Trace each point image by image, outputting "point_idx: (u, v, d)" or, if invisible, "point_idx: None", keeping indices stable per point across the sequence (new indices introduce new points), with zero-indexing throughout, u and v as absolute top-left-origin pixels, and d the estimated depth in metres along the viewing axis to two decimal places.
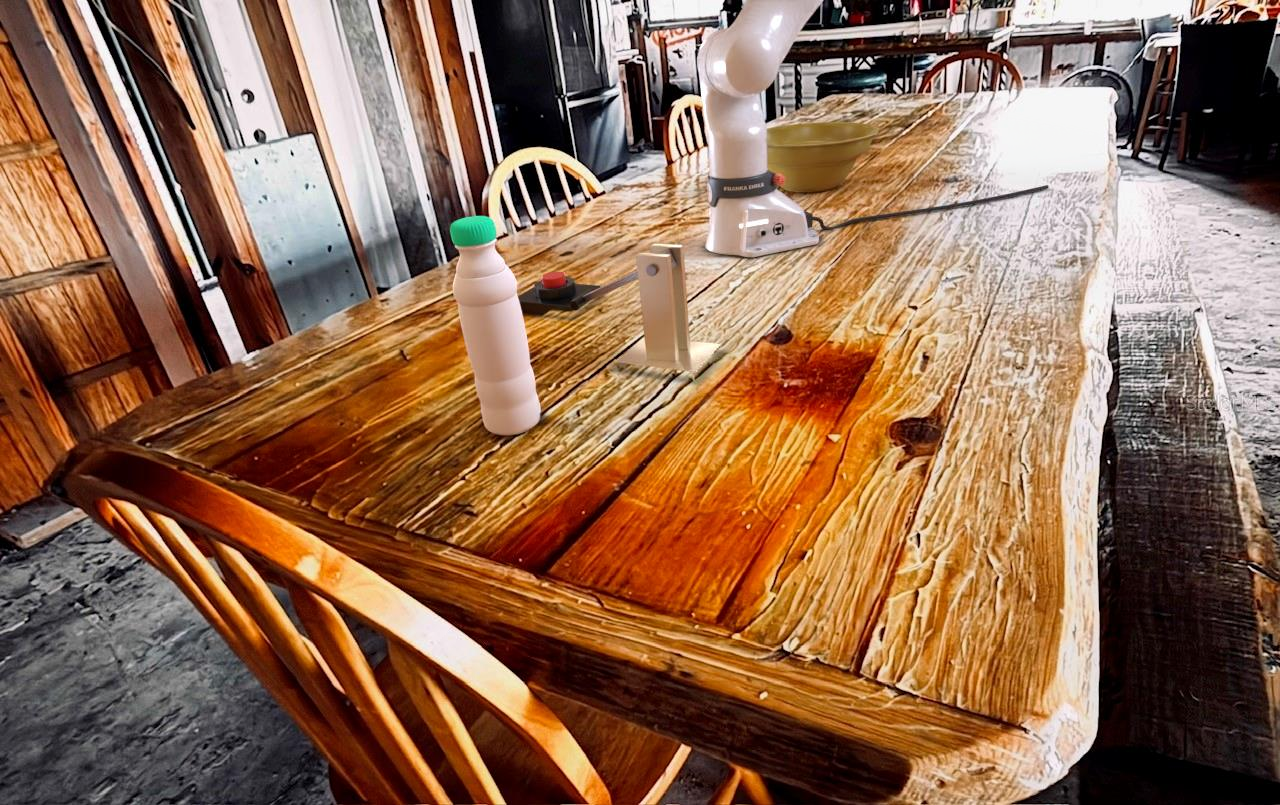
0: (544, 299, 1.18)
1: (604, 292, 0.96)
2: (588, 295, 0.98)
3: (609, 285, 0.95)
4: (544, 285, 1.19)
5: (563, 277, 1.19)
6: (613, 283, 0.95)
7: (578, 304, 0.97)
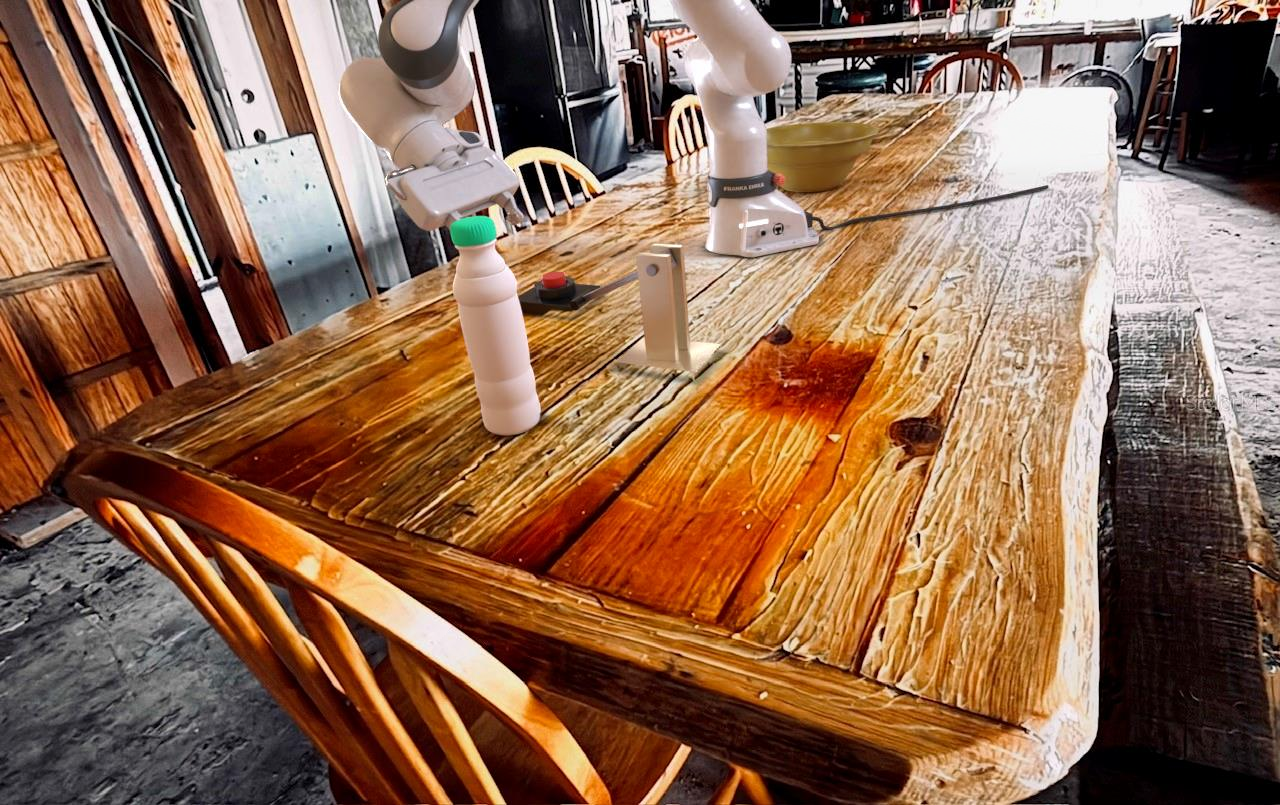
0: (544, 299, 1.18)
1: (604, 292, 0.96)
2: (588, 295, 0.98)
3: (609, 285, 0.95)
4: (544, 285, 1.19)
5: (563, 277, 1.19)
6: (613, 283, 0.95)
7: (578, 304, 0.97)
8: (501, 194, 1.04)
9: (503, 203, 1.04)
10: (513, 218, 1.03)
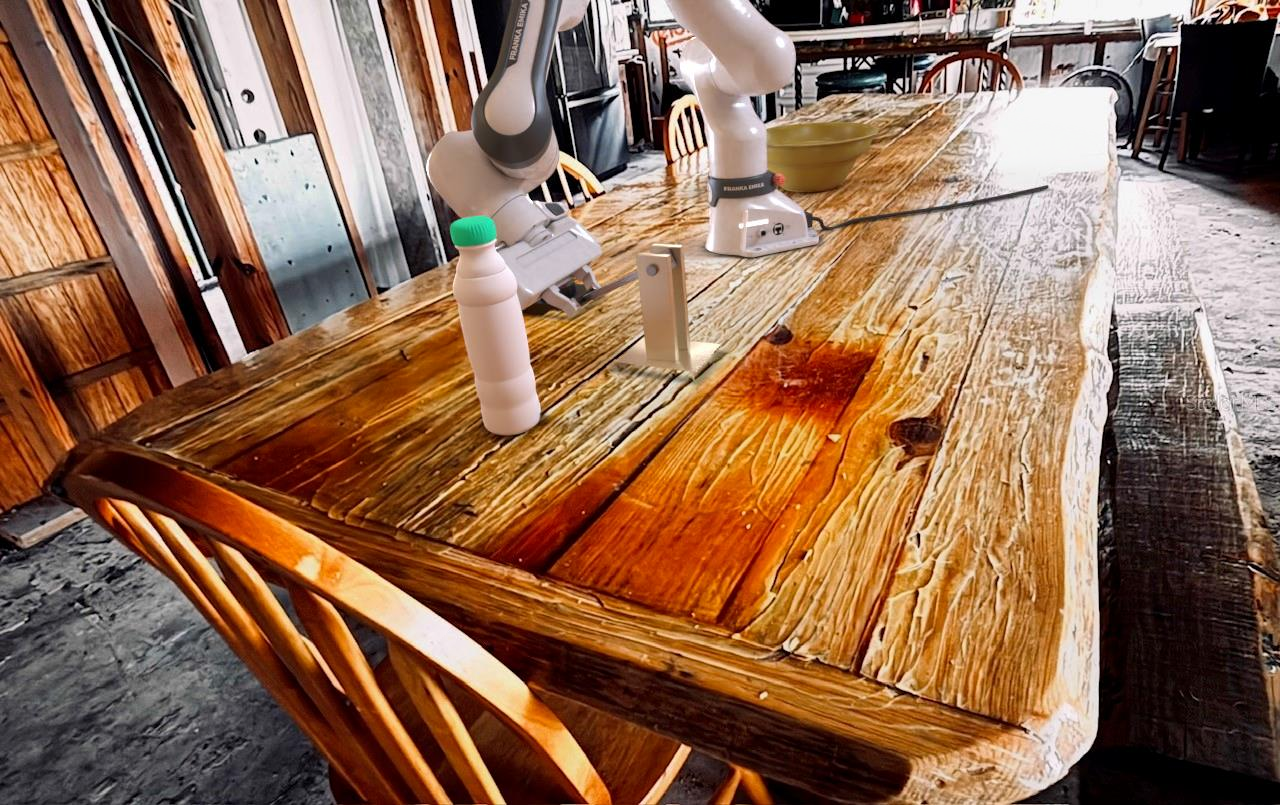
0: None
1: (604, 292, 0.96)
2: (588, 295, 0.98)
3: (609, 285, 0.95)
4: None
5: None
6: (613, 283, 0.95)
7: None
8: (580, 268, 1.01)
9: (582, 277, 1.02)
10: None
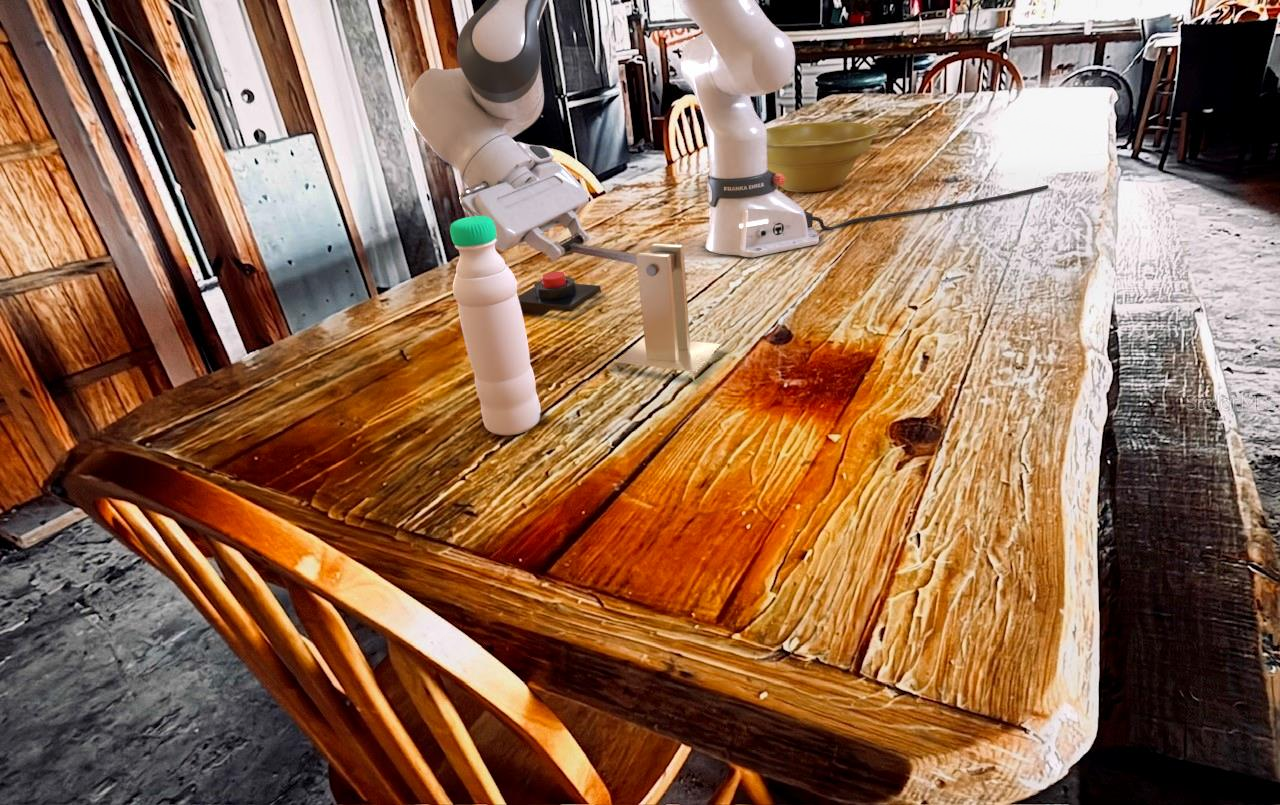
0: (544, 299, 1.18)
1: (593, 254, 0.94)
2: (575, 247, 0.95)
3: (601, 252, 0.94)
4: (544, 285, 1.19)
5: (563, 277, 1.19)
6: (606, 253, 0.93)
7: None
8: (566, 214, 0.98)
9: (567, 223, 0.99)
10: None
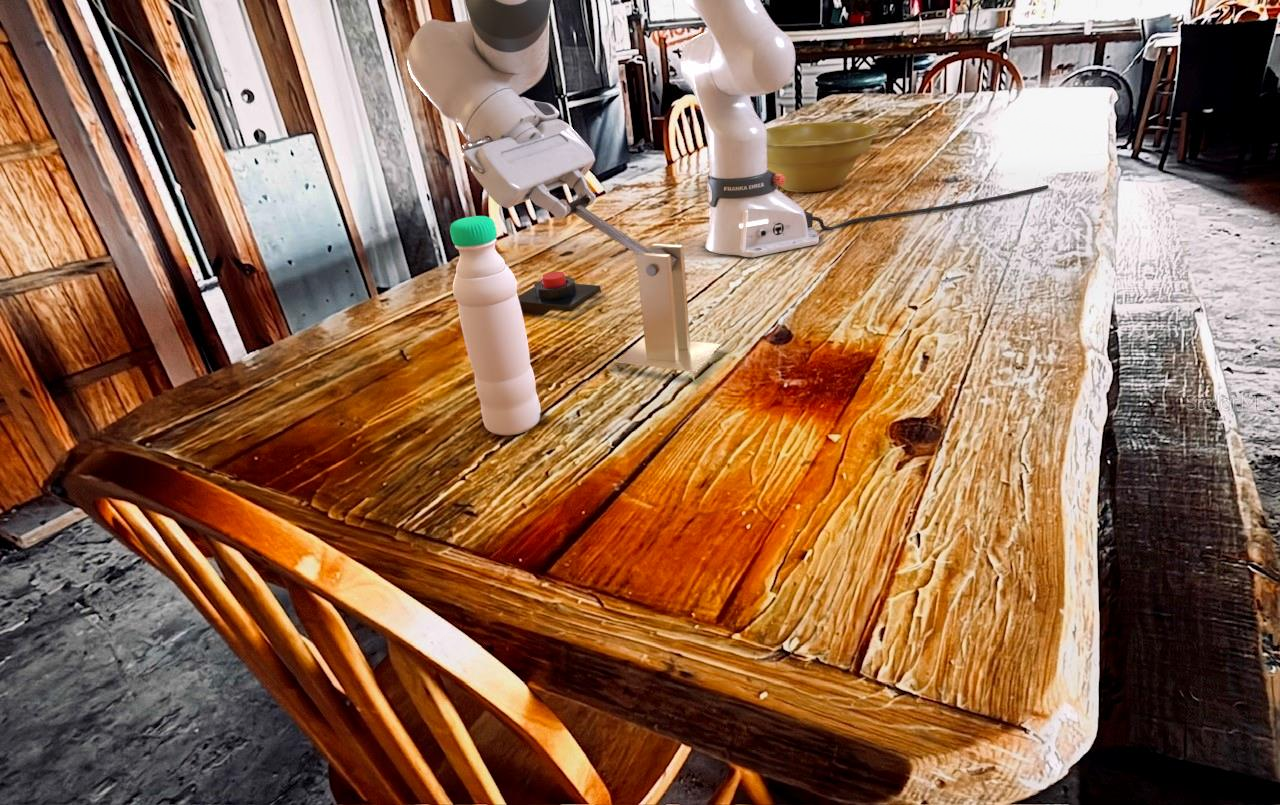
0: (544, 299, 1.18)
1: (597, 226, 0.92)
2: (581, 212, 0.92)
3: (606, 228, 0.91)
4: (544, 285, 1.19)
5: (563, 277, 1.19)
6: (611, 231, 0.91)
7: (568, 215, 0.91)
8: (571, 173, 0.95)
9: (573, 183, 0.95)
10: None
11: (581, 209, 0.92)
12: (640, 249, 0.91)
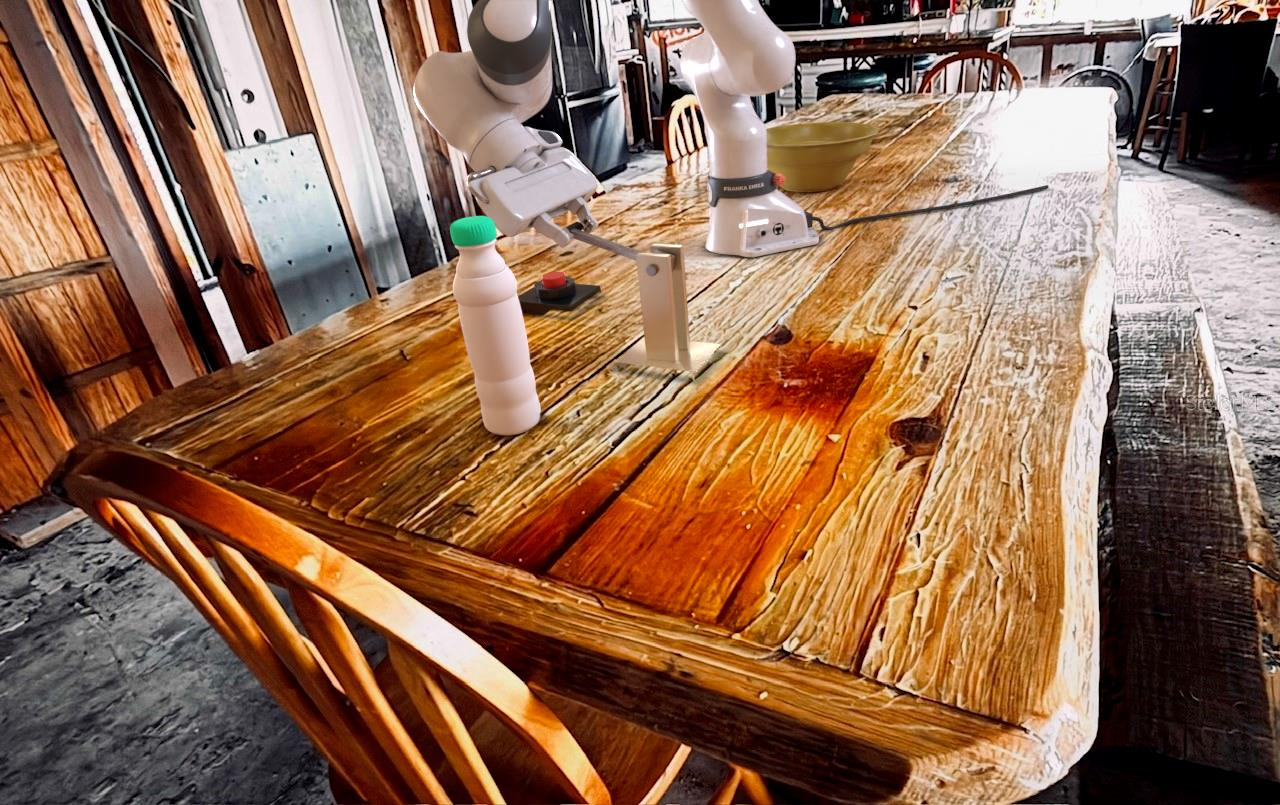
0: (544, 299, 1.18)
1: (593, 244, 0.94)
2: (576, 234, 0.94)
3: (602, 243, 0.93)
4: (544, 285, 1.19)
5: (563, 277, 1.19)
6: (607, 244, 0.93)
7: None
8: (574, 200, 0.97)
9: (576, 210, 0.97)
10: (588, 226, 0.96)
11: (575, 231, 0.94)
12: None
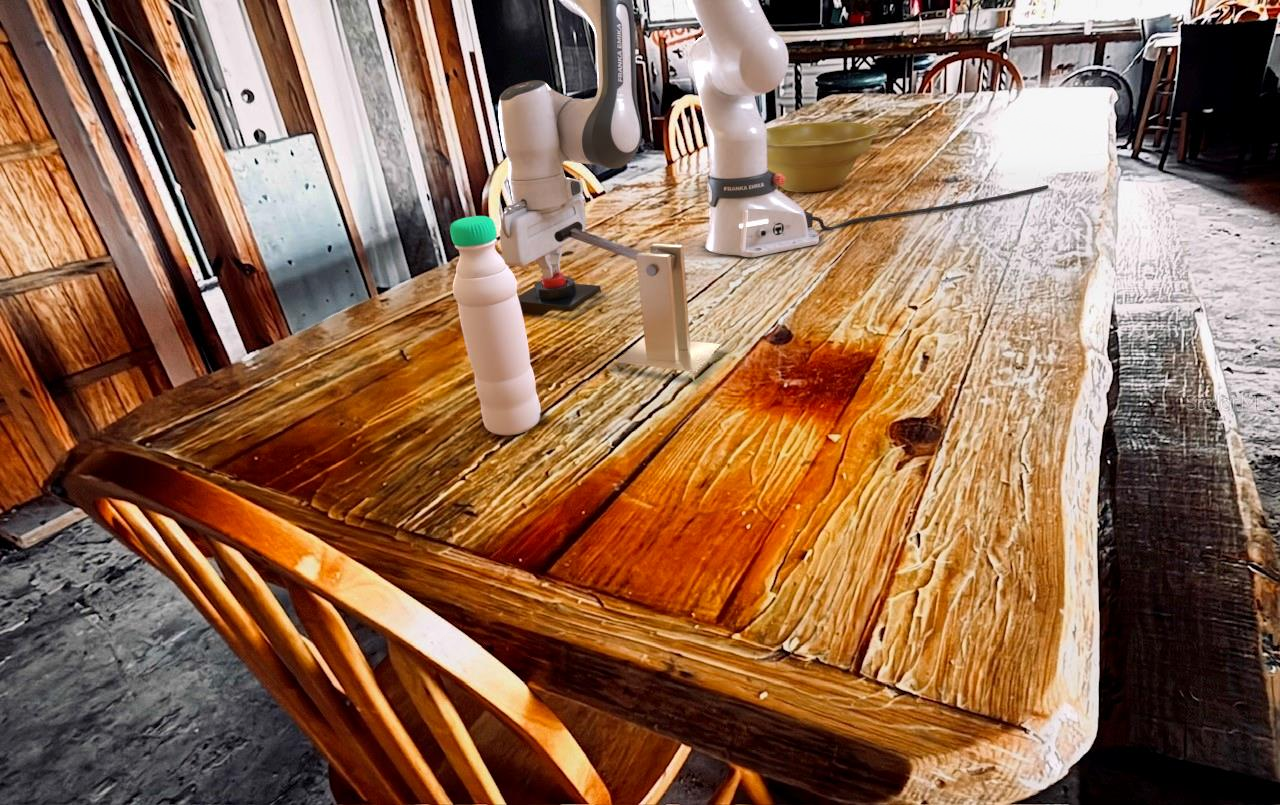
0: (544, 299, 1.18)
1: (593, 244, 0.94)
2: (576, 234, 0.94)
3: (602, 242, 0.93)
4: (544, 286, 1.19)
5: (563, 278, 1.19)
6: (607, 244, 0.93)
7: (563, 239, 0.93)
8: None
9: (551, 252, 1.19)
10: None
11: (575, 231, 0.94)
12: None
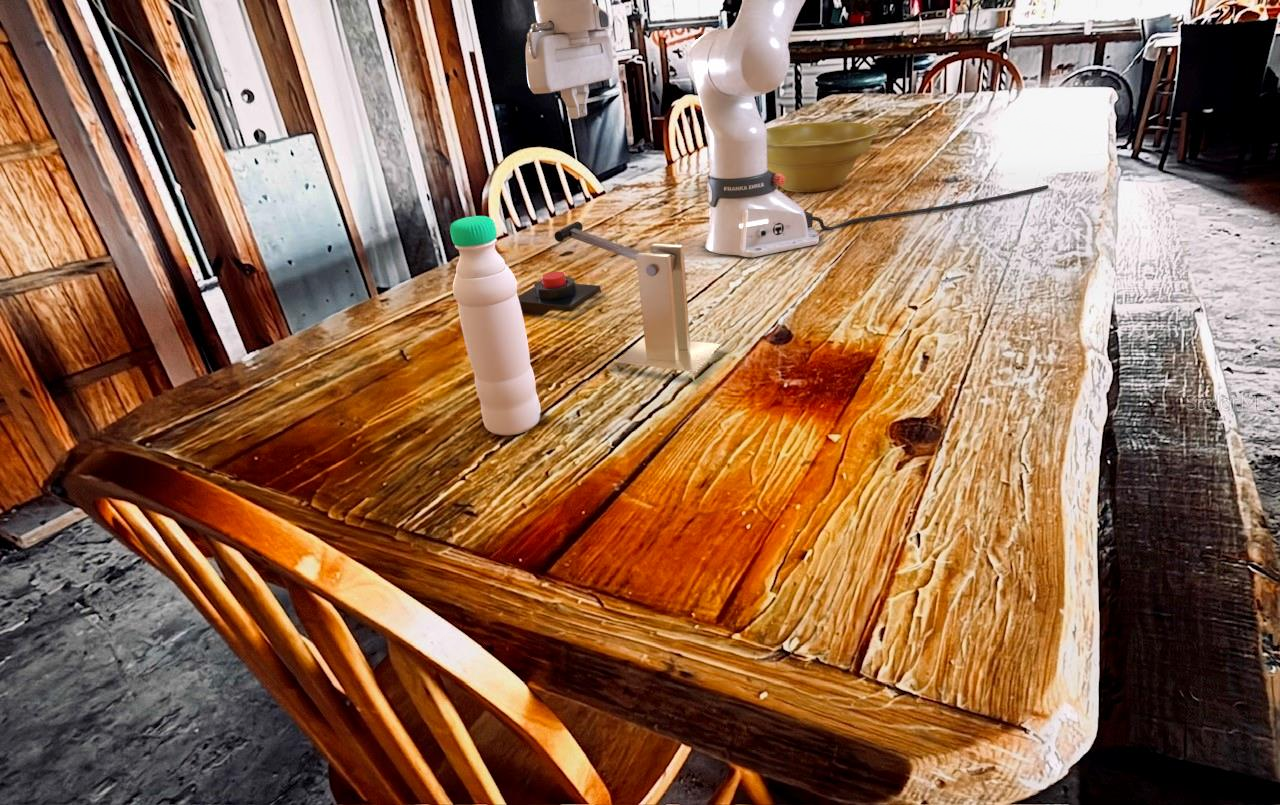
0: (544, 299, 1.18)
1: (593, 244, 0.94)
2: (576, 234, 0.94)
3: (602, 242, 0.93)
4: (544, 285, 1.19)
5: (563, 277, 1.19)
6: (607, 244, 0.93)
7: (563, 239, 0.93)
8: (582, 84, 1.12)
9: (578, 91, 1.12)
10: None
11: (575, 231, 0.94)
12: None
